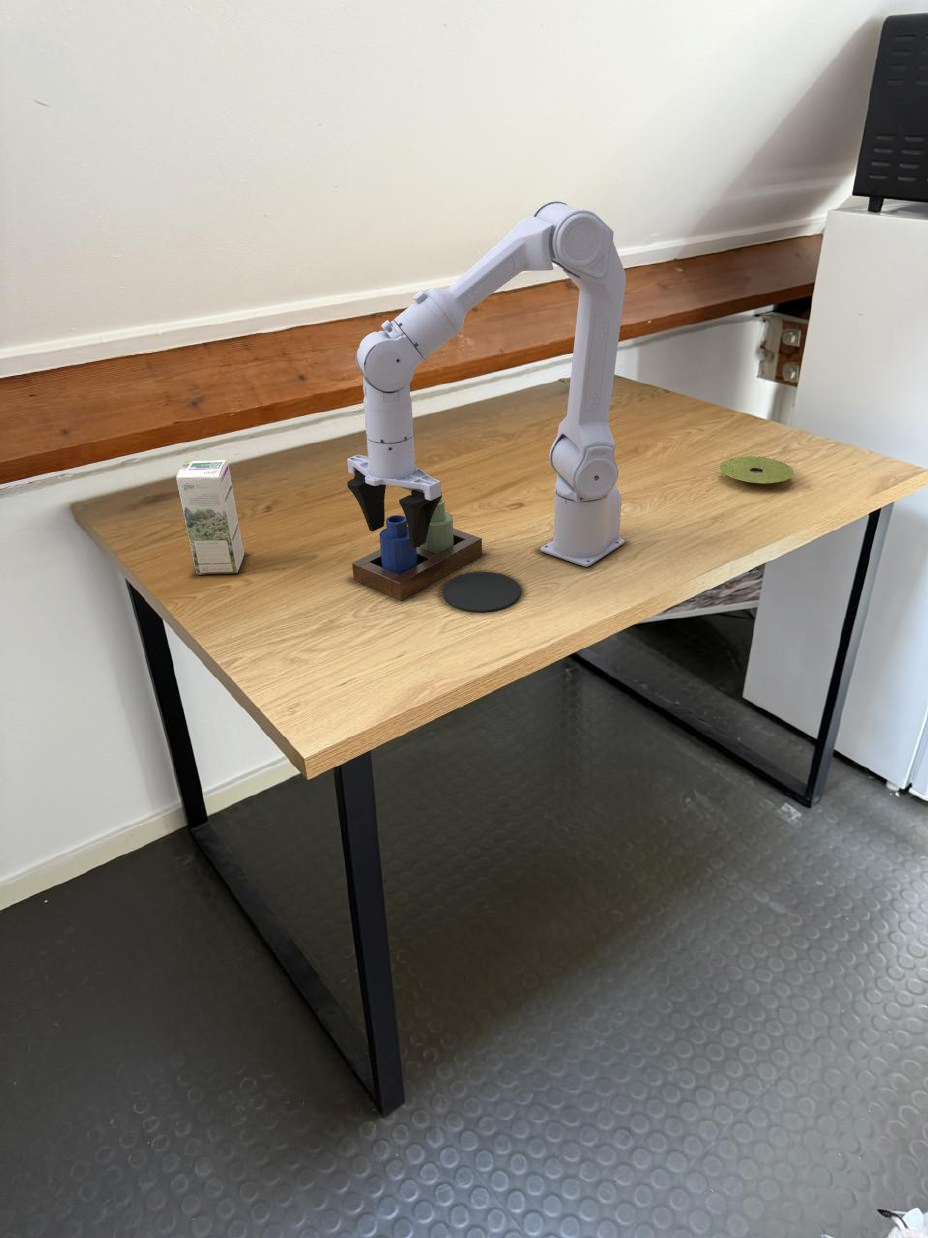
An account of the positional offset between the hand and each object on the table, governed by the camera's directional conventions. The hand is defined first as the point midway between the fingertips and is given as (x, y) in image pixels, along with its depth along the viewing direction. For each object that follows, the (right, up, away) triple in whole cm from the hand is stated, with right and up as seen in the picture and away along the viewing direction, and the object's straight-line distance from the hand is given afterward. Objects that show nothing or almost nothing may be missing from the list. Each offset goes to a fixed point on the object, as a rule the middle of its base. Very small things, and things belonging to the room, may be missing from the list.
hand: (397, 536), depth 117 cm
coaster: (+11, -7, -1) cm, 13 cm away
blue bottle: (0, -5, +3) cm, 6 cm away
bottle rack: (+3, -4, +5) cm, 7 cm away
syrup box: (-25, -4, +8) cm, 26 cm away
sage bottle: (+5, -2, +8) cm, 9 cm away
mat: (+55, +11, +27) cm, 63 cm away
